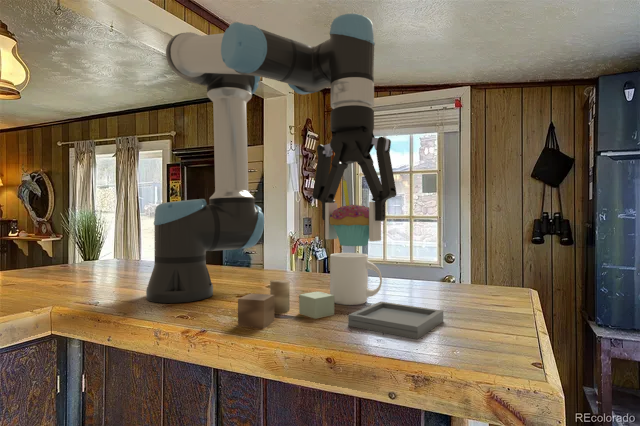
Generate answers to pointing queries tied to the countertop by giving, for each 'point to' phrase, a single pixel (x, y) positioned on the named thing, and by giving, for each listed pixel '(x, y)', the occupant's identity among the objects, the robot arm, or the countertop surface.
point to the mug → (351, 278)
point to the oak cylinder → (280, 295)
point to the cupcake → (351, 222)
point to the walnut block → (255, 310)
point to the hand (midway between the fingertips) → (352, 239)
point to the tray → (396, 319)
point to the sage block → (316, 304)
